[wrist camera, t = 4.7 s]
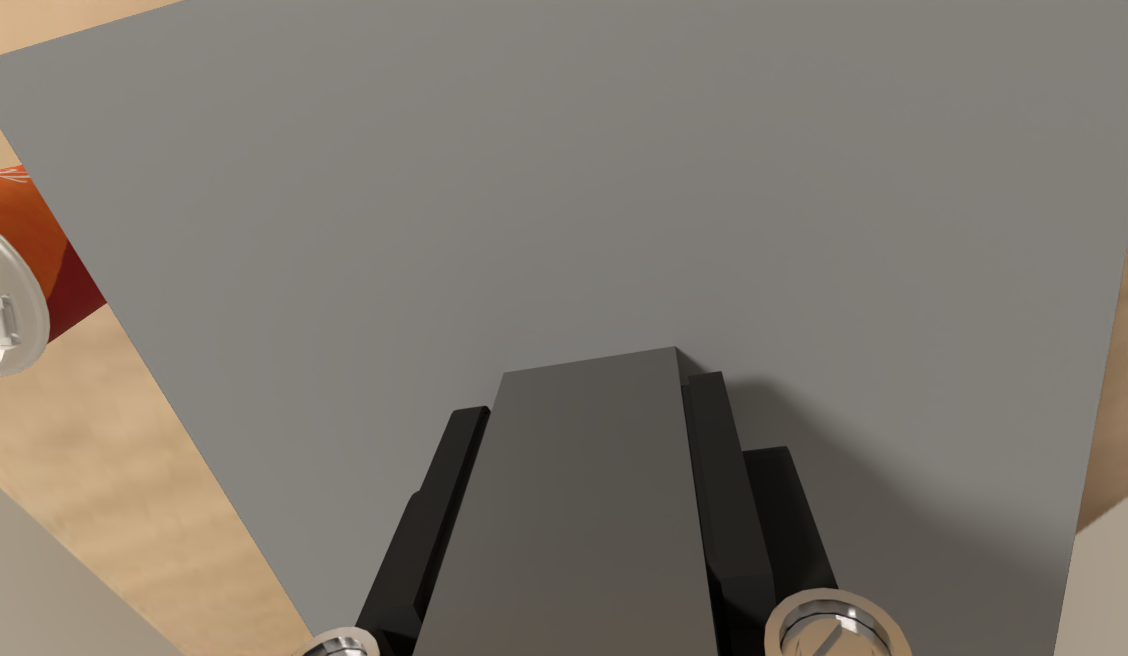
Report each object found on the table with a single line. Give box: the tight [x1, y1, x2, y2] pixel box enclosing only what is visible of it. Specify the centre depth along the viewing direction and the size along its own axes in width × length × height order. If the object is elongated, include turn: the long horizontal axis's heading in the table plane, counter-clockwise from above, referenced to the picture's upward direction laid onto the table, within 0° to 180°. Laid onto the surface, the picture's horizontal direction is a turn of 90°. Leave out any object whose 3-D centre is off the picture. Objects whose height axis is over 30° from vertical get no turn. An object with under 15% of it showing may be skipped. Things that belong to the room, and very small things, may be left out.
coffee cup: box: [0, 165, 107, 377], centre depth 30 cm, size 8×8×15 cm
